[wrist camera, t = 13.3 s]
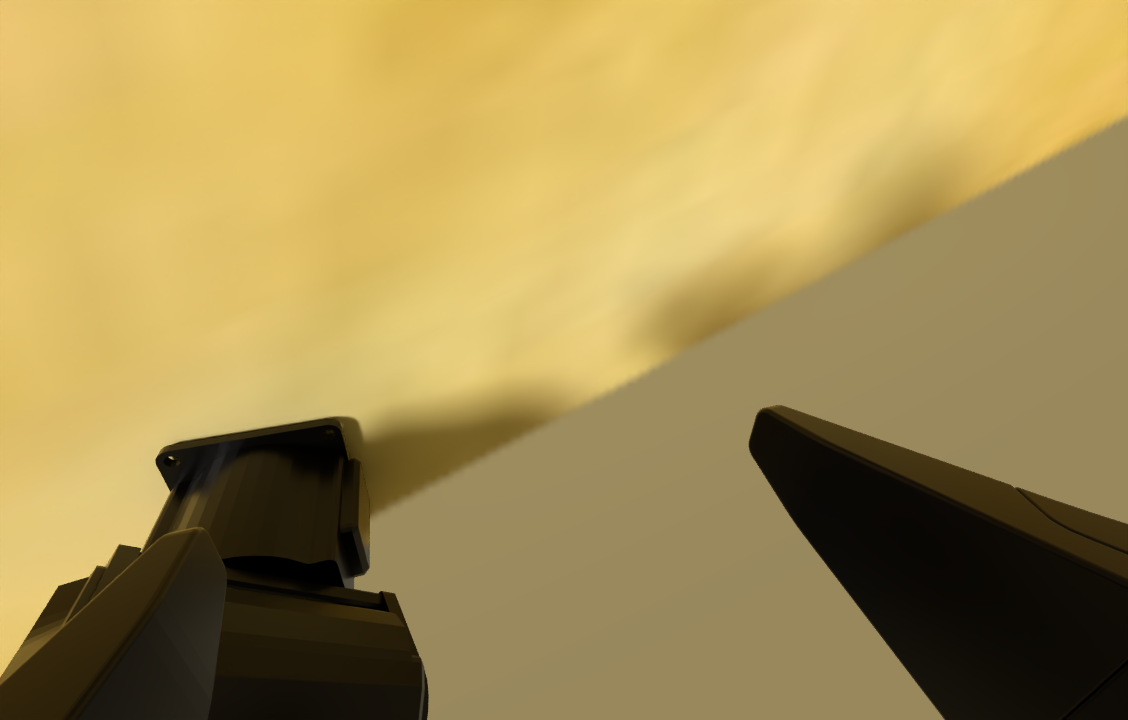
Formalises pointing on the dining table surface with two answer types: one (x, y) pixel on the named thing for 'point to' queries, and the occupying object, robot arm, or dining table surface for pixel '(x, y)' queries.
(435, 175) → the dining table surface
